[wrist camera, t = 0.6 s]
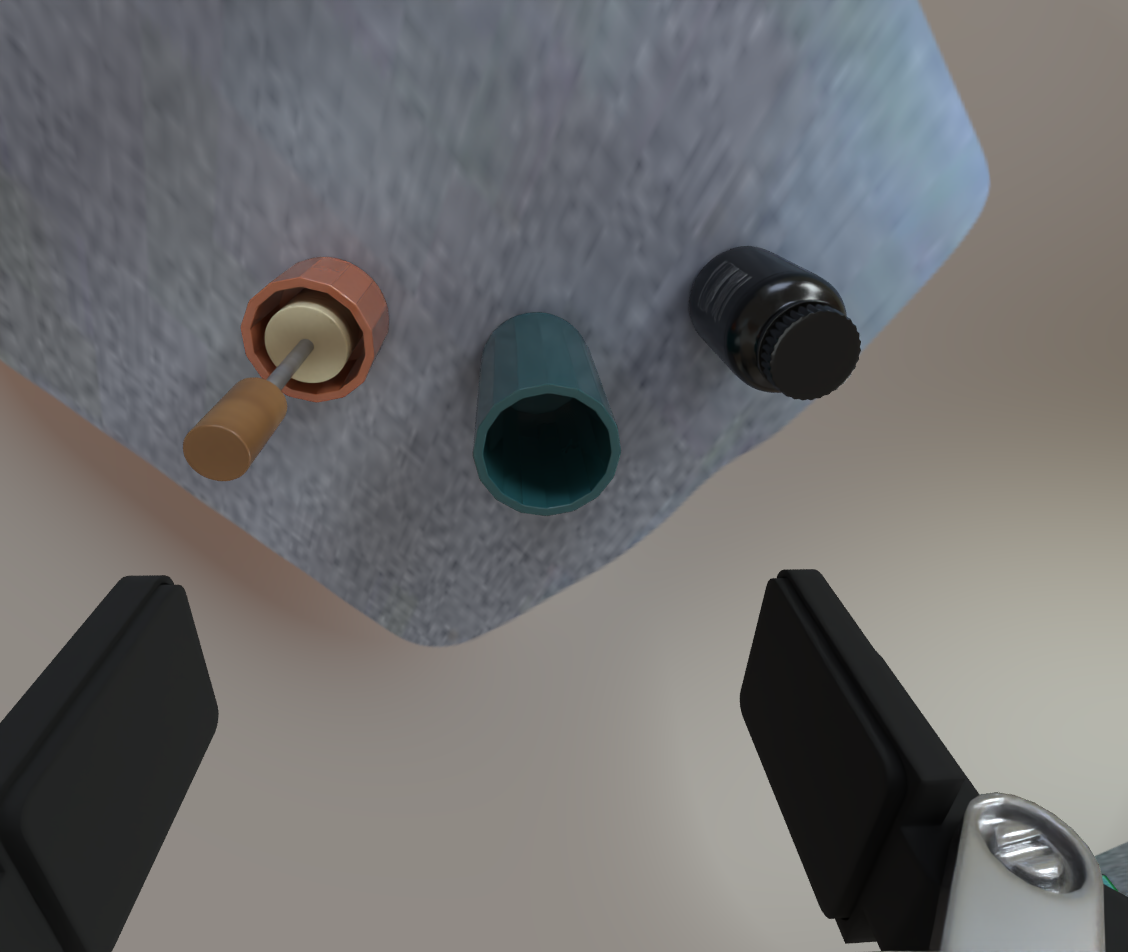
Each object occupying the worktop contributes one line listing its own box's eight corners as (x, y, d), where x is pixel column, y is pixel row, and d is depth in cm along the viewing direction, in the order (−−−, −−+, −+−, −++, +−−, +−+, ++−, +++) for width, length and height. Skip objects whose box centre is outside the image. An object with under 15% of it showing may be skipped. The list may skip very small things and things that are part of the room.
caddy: (255, 268, 40) (218, 292, 35) (370, 246, 40) (350, 267, 35) (298, 375, 43) (270, 411, 38) (403, 354, 43) (390, 388, 38)
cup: (469, 323, 43) (457, 401, 31) (581, 302, 43) (609, 371, 31) (494, 425, 46) (492, 527, 35) (597, 405, 46) (628, 501, 35)
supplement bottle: (706, 364, 45) (768, 440, 35) (671, 274, 42) (728, 328, 32) (800, 319, 44) (893, 384, 34) (772, 224, 41) (865, 263, 31)
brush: (283, 287, 40) (130, 412, 24) (353, 274, 40) (249, 389, 23) (309, 355, 42) (186, 513, 26) (376, 342, 42) (295, 492, 26)
